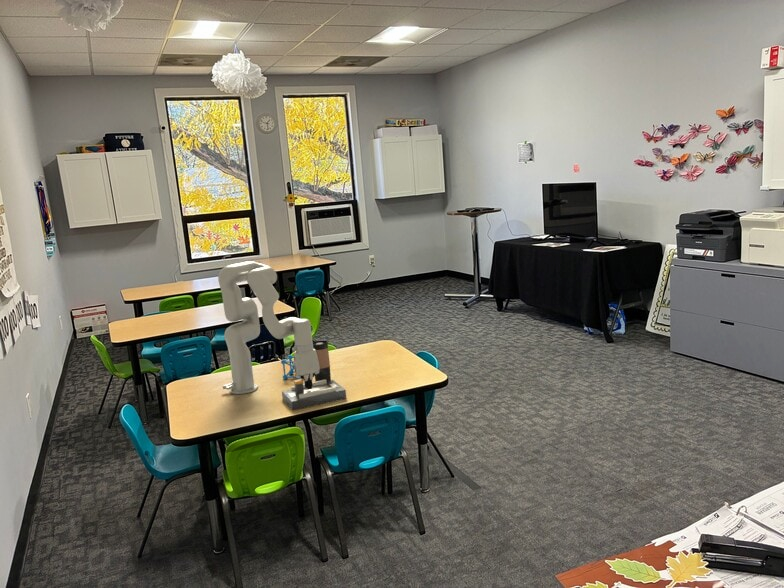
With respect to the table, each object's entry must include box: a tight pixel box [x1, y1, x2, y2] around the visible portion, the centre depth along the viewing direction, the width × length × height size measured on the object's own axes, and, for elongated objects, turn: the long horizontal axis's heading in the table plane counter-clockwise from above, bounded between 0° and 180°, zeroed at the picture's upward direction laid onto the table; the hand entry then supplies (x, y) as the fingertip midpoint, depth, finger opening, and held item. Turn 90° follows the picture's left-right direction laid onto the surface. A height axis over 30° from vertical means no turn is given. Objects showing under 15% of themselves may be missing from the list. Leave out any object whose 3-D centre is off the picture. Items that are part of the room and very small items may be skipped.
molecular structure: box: [280, 354, 303, 380], centre depth 290 cm, size 10×10×10 cm
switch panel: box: [281, 379, 347, 411], centre depth 257 cm, size 24×16×5 cm, turn 115°
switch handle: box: [293, 378, 304, 394], centre depth 254 cm, size 3×3×5 cm
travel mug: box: [312, 340, 332, 382], centre depth 275 cm, size 8×8×20 cm
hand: (309, 388), depth 256 cm, fingers closed
